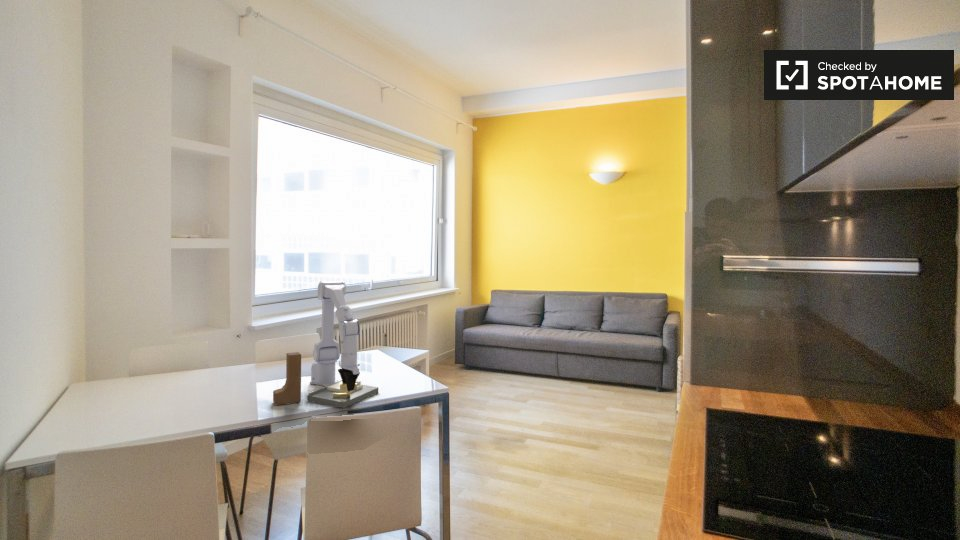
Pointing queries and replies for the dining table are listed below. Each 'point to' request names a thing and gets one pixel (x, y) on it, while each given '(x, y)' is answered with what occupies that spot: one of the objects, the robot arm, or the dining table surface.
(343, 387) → the key
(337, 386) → the cover
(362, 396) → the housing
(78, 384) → the dining table surface
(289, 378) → the wooden block
